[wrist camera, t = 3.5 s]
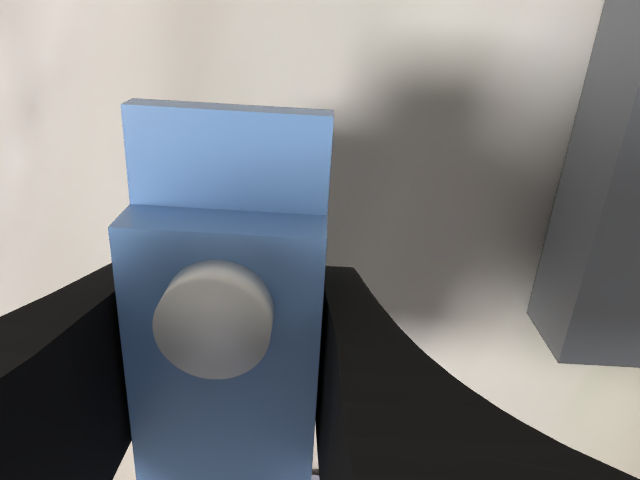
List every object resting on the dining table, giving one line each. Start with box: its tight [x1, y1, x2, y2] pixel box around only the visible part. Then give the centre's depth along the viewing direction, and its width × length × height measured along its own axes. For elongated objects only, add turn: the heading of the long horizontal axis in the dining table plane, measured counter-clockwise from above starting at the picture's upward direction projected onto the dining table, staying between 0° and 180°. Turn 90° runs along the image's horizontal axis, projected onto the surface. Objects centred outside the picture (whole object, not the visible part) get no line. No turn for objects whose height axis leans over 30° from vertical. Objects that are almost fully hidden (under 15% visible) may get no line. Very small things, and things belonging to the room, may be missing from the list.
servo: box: [108, 98, 334, 480], centre depth 10 cm, size 8×3×5 cm, turn 177°
